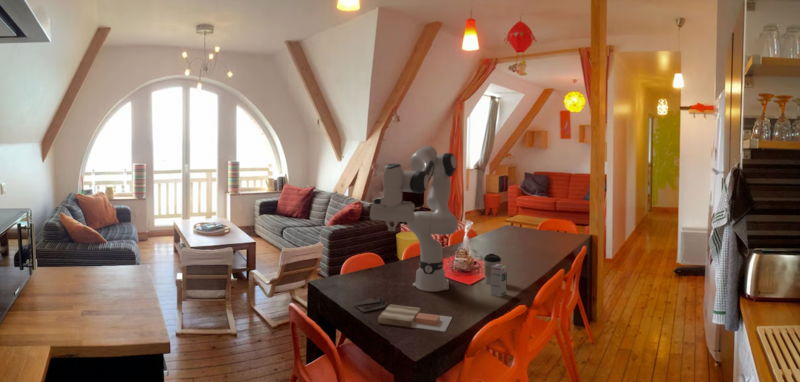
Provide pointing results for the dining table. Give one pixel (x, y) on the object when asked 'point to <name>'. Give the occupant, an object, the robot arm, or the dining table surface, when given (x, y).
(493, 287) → the syrup box
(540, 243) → the dining table surface
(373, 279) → the dining table surface
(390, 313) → the beige square slab
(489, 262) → the coffee cup
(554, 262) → the dining table surface
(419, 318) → the pink flat block
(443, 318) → the mat
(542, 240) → the dining table surface
